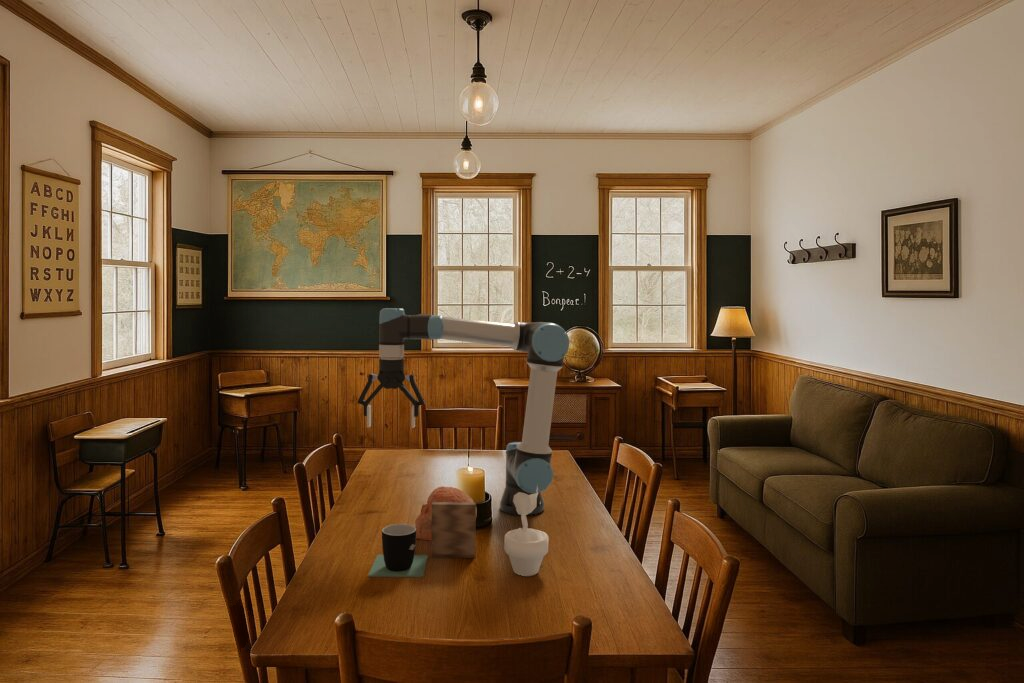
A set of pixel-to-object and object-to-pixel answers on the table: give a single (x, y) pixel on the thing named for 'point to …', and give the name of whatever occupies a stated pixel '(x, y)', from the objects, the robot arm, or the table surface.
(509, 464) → the robot arm
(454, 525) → the walnut board
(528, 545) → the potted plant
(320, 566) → the table surface
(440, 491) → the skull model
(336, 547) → the table surface
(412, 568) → the felt pad
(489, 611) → the table surface
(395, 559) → the mug
